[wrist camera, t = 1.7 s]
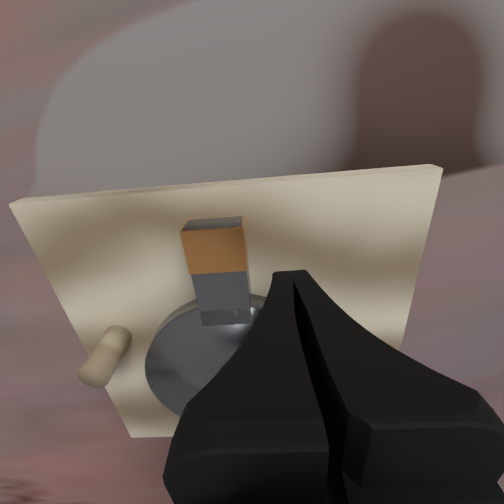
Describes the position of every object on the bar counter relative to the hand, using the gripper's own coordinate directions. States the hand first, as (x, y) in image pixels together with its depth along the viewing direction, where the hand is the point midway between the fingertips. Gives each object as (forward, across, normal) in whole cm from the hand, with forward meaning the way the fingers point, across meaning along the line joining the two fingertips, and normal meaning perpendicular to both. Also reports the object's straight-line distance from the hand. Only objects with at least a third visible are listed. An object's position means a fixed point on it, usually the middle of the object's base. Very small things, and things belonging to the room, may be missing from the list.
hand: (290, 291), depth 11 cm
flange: (+2, +3, +4) cm, 6 cm away
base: (+4, +3, +6) cm, 8 cm away
